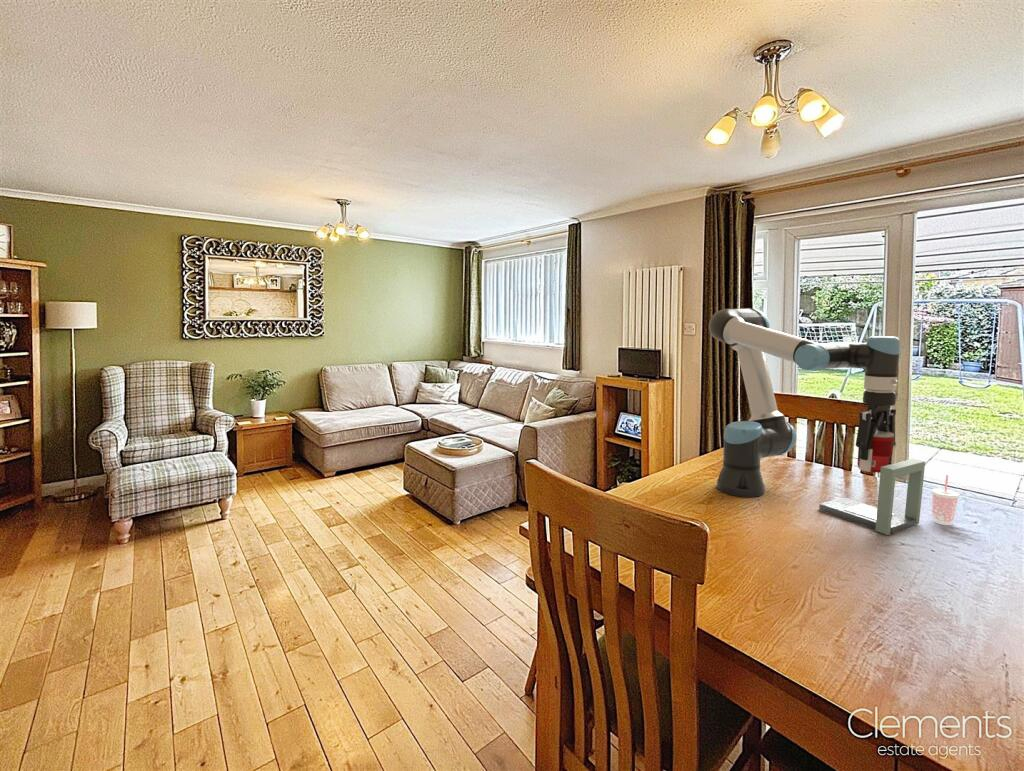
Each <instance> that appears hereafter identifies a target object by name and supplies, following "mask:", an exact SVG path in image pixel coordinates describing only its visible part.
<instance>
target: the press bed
mask: <svg viewBox="0 0 1024 771" xmlns="http://www.w3.org/2000/svg"><path fill="white" fill-rule="evenodd" d="M818 507H819V508H818V510H819V511H821V512H824V513H827V514H830V515H832V516H836V517H838V518H842V519H845V520H847V521H850V522H853V523H856V524H860V525H862V526H864V527H867V528H871V529H874V530H875V529H876V517H877V506H874V505H871V504H867V503H863V502H861V501H857V500H855V499H851V498H847V497H844V496H843V497H839V498H836V499H832V500H829V501H825V502H824V501H823V502H821V503H819V506H818ZM913 527H916V519H913V518H910V517H907V516H905V515H903V514H900V513H897V512H893V511H892V520H891V531H890V534H889V535H894V534H897V533H900V532H902V531H906V530H908V529H911V528H913Z"/></svg>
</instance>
